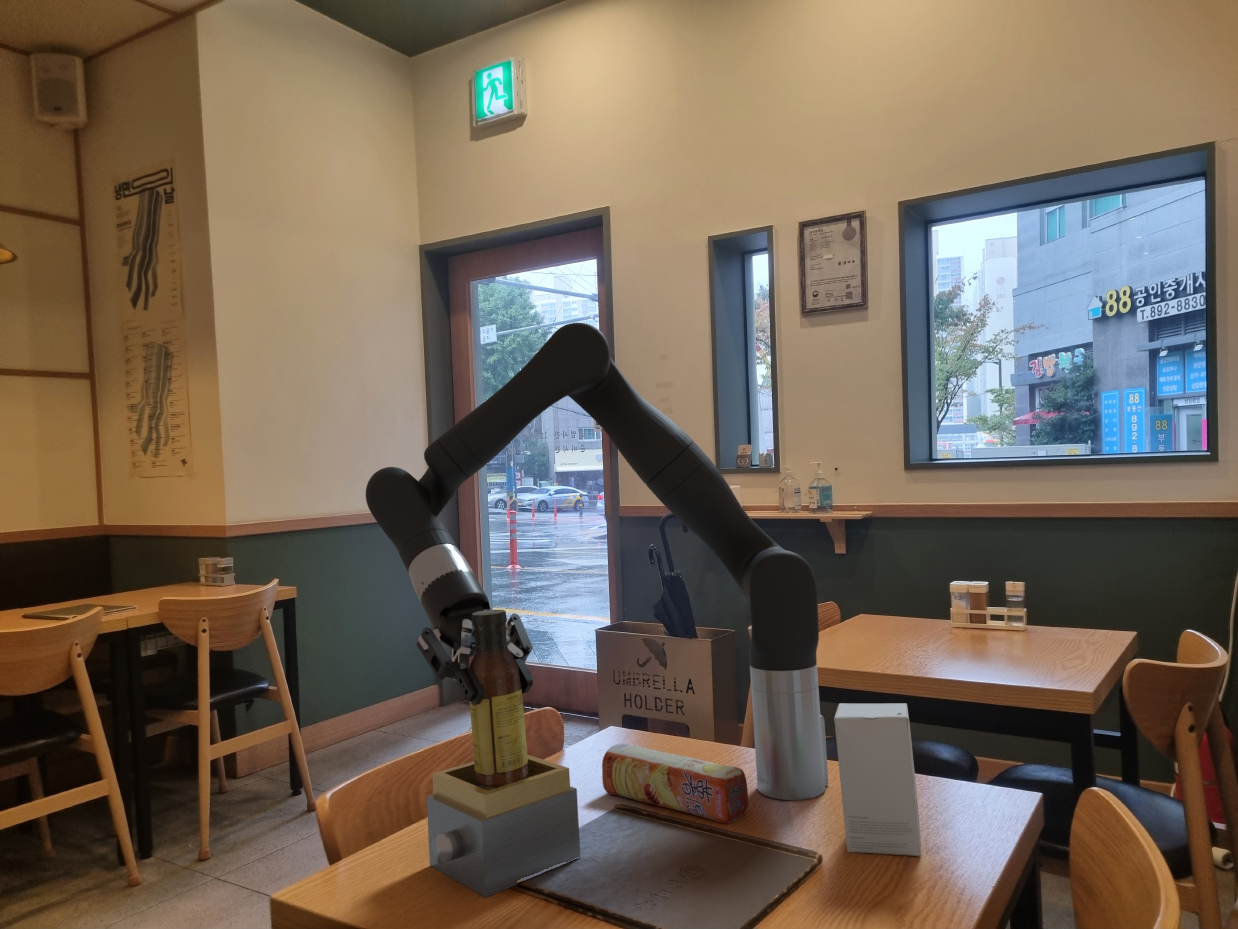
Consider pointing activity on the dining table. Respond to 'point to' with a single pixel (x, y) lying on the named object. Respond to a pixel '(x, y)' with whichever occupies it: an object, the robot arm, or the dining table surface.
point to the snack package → (675, 782)
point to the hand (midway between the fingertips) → (504, 694)
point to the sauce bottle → (497, 705)
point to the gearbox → (501, 825)
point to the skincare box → (877, 779)
